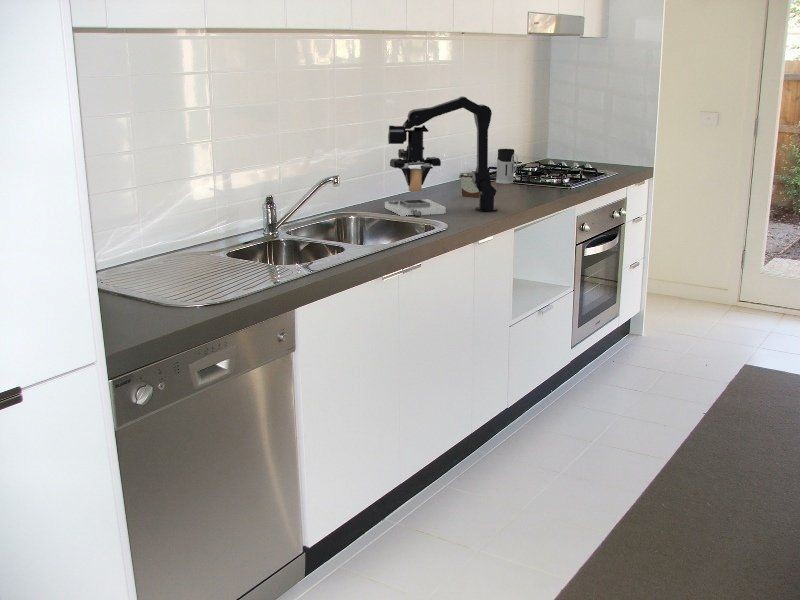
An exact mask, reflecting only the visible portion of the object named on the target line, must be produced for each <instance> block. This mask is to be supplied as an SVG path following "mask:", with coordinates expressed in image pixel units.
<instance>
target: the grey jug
mask: <svg viewBox="0 0 800 600" xmlns="http://www.w3.org/2000/svg"><path fill="white" fill-rule="evenodd" d="M515 159H516V160H515ZM496 161H497V162H496V179H495V183H497V184H504V185H505V184H514V183H513V181H514V182H515V180H514V175H515V173H516V170H517V168H518V161H519V159H518V155H517V154H515V149H514V148H498V149H497V160H496Z"/></svg>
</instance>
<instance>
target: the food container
mask: <svg viewBox="0 0 800 600" xmlns="http://www.w3.org/2000/svg"><path fill="white" fill-rule="evenodd" d="M458 178H459V179H460V180H459V181H460V194H461V198H463V199H473V200H474V199H475V200H479V194H480V192H479V190H478V189H477V188H476V187H475V186H474V183H473V182H472V178H473V176H472V171H471V172H470V171H469V172H468V171H467V172H460V173H459V176H458Z"/></svg>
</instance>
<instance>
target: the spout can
mask: <svg viewBox="0 0 800 600" xmlns="http://www.w3.org/2000/svg"><path fill="white" fill-rule="evenodd" d="M422 187H423V185H422V169H421V168H416V167H415V168H410V186H408V192H421V191H422V189H423V188H422Z"/></svg>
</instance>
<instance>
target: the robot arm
mask: <svg viewBox="0 0 800 600" xmlns="http://www.w3.org/2000/svg"><path fill="white" fill-rule="evenodd" d="M460 109H464V110H467V111H468V112H470V113H472V114H473V118H474V123H475V127H476V167H475V170H471V172H472V176H473V178H472V182H473V183H474V186H475V187H476V188H477V189H478V190H479V192H480V194H479V199H478V207H477V206H476V207H475V209H476V210H478V211H481V212H494V211H496V212H497V211H498V209H497V208H495V196H496V194H497V189H496V188H495V187H494V186H493V185H492V180H491V175H490V171H489V166H488V163H489V162H488V161H489V159H488V158H489V157H488V156H489V154H488V153H489V145H488V144H489V128H490V124H491V119H492V113H493V112H492V108H490V107H489V106H488V105H486V104H478V103H476V102H474V101H472V100H470V99H469V98H467V97H465V96H459V97H457V98H455V99H451V100H447V101H445V102H442V103H439V104H436V105H433V106H431V107H421V108H415V109H414V108H413V109H411V110H409V112H408V113H407V119H406V120H405V121H404V123H403V124H402V125H390V124H389V125H388V133H387V142H388V144H389V145H404V143H405V142H407V146H406V150H405V148H399V149H398V151H397V152H398V153H397V155H398V156H397V157H398V158H391V159H390V160H389V167H391V168H393V169H394V168H395V169H399V170H401V171H402V174H403V175H404V177H405V178H404V179H405V181H406V185H407V187H409V186H410V169H411V168H410V167H409V166H415V165H416V166H419V165H420V169H422V186H423V185H424V184H425V181H426V178H427V176H428V174H429V172H430V171H431V169H433V168H434V167H441V166H442V161H441V159H440V158H439V157H436V156H431V157H430V156H427V157H426V159H425V158H424V150H425V146H424V133H428V132H429V129H428V127H426V125H425V123H427V122H429V121H430V120H432V119H433V118H436V117H438V116H442V115H445V114H448V113H450V112H454V111H457V110H460ZM421 125H422V126H421Z"/></svg>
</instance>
